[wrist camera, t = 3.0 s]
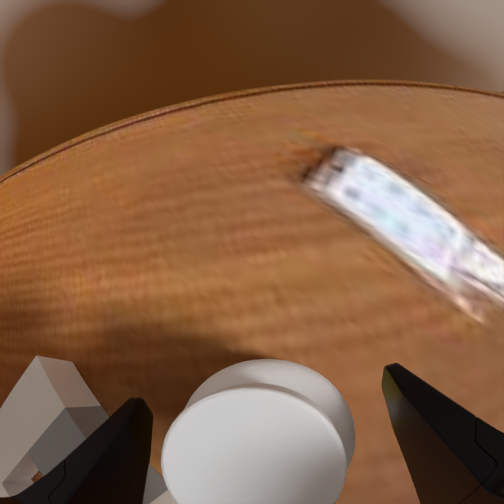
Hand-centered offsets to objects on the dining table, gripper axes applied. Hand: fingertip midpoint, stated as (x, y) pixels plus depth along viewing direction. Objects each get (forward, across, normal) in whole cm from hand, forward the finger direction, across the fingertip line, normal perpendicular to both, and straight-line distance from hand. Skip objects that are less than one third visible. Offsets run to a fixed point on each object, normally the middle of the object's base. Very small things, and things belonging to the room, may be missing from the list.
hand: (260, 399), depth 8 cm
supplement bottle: (+4, 0, +6) cm, 7 cm away
